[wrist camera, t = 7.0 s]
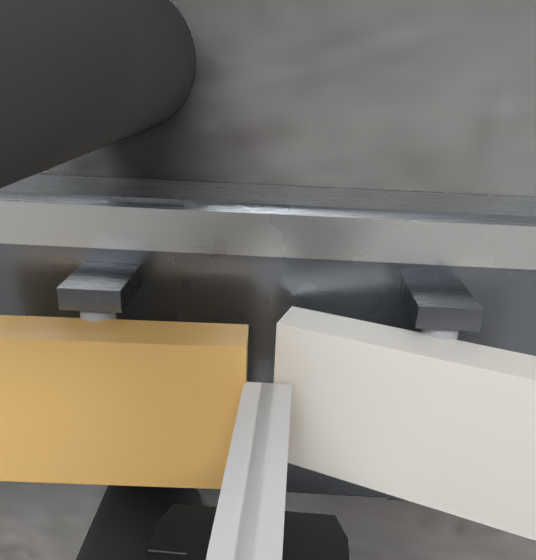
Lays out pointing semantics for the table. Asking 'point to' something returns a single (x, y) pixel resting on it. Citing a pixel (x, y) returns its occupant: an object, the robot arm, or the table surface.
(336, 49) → the table surface
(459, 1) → the table surface
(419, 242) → the panel
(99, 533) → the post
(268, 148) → the table surface
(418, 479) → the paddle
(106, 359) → the paddle mid
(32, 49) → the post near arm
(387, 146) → the table surface
